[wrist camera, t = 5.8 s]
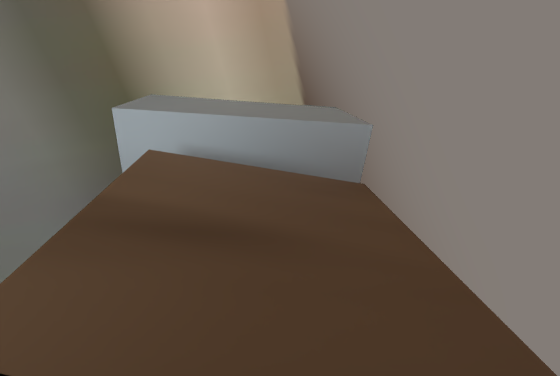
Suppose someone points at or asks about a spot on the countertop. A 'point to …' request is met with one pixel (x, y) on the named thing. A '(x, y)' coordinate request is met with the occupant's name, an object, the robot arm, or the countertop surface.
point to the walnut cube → (244, 285)
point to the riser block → (245, 134)
